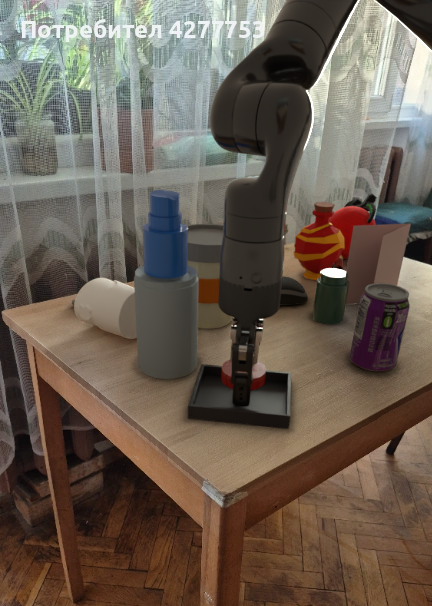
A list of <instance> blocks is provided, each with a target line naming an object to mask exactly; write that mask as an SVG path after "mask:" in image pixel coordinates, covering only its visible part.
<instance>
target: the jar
mask: <svg viewBox="0 0 432 606" xmlns="http://www.w3.org/2000/svg"><path fill="white" fill-rule="evenodd" d="M320 274H321V277H319V278H318V279H317V280H316V286H315V291H314V292H315V293H314V300H313V307H312V315H311V318H312V319H313V320H314V321H315V322H317V323H321V324H323V325H324V324H325V325H338V324H341V323H342V322H343V321H344V318H345V313H346V306H347V304H346V302H347V296H348V290H349V284H350V282H349V281H348V280H347V278H348V273H347V272H346V270H344V269H343V270H340V269H335V267H333V268H332V267H331V268H329V269H324V270H322V271H321V272H320Z"/></svg>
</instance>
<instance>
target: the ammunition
mask: <svg viewBox="0 0 432 606" xmlns="http://www.w3.org/2000/svg"><path fill="white" fill-rule="evenodd" d="M346 262H347V263H348V258H347V259H346ZM347 263H346V264H347ZM334 269H340V270H343V271H344V259H343V257H342V255H340V257H339V258H338V259H337V261H336V262H335V263H334Z"/></svg>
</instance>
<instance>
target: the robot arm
mask: <svg viewBox="0 0 432 606" xmlns="http://www.w3.org/2000/svg"><path fill="white" fill-rule="evenodd" d="M359 2H360V0H286V1H285V2H284V3H283V5H282V7H281V9H280V10H279V12H278V13H277V16H276V18H275V19H274V22H273V24H272V25H271V27H270V30H268V33H267V35H266V37H265V38H264V40H262V42H260V43H259V44H258V45H256V46H255V47H254V48H253V49H252V50H251V51H250V52H249V53H248V54H247V55H246V56H245V57H244V58H243V59H242V60H241V61H240V62H239V63H238V64H237V65H236V66H235V67H234V68H233V69H232V70H231V71H230V72H229V73H228V74H227V75H226V76H225V78H224V79H223V81H221V83H220V84H219V86H218V88H217V90H216V92H215V94H214V96H213V99H212V102H211V106H210V111H209V128H210V132H211V136H212V138H213V140H214V141H215V143H216V144H217V145H218V146H219V147H220V148H221V149H223V150H224V151H228V152H230V153H235V154H243V155H251V156H258V157H265V161H264V165H263V167H262V170H261V172H260V173H259V175H250V176H249V175H248V176H242V177H238V178H235V179H233V180H231V181H229V182H228V183H227V185H226V187H225V190H224V198H223V222H222V223H223V224H222V225H223V238H222V244H221V250H220V271H219V300H218V305H219V308H220V309H221V311H222V312H224V313H225V314H227V315H229V316H232V324H231V326H230V331H229V339H230V340H231V344H230V355H229V356H230V357H229V360H230V361H231V362H232V374H231V378H230V381H231V384H232V385H233V404H234V405H236V406H248V405H249V403H250V392H251V383H253V376H252V375H253V366H254V365H255V364H257V362H258V361H259V352H260V351H259V350H260V345H261V341H262V339H263V332H264V323H265V319H268V318H271V317H273V316H274V315H277V313H278V312H279V310H280V307H281V305H280V296H281V286H282V276H284V265H285V233H286V232H285V231H286V221H287V213H288V212H287V211H288V202H289V198H290V194H291V192H292V191H291V190H292V188H293V183H294V180H295V178H296V174H297V171H298V168H299V166H300V162H301V159H302V157H303V155H304V152H305V150H306V148H307V145H308V142H309V139H310V136H311V133H312V129H313V125H314V115H315V114H314V106H313V101H312V98H311V95H310V94H309V92H308V91H310V90H312V89H313V87H315V86H316V85H317V84H318V82H319V80H320V79H321V76H322V75H323V72H324V71H325V69H326V67H327V65H328V63H329V61H330V60H331V57H332V55H333V53H334V51H335V49H336V47H337V45H338V44H339V41H340V39H341V37H342V35H343V33H344V32H345V29H346V28H347V25H348V23H349V21H350V19H351V17H352V15H353V13H354V11H355V9H356V7H357V5H358V3H359ZM374 2H376V3H377V4H378V5H379V6H381V7H382V8H383V9H385V10H386V12H388V13H389V14H391V15H392V16H393V17H394V18H395V19H397V20H398V21H399V23H401V24H402V25H403V26H404V27H405V28H406V29H407V30H409V31H410V33H412V34H413V36H415V38H417V39H418V40H419V41H420V42H421V43H422V44H423V45H424V46H425V47H426V48H427V49H428V50H429V51H430V52H432V0H374ZM237 371H242V372H237ZM243 372H247V373H243Z"/></svg>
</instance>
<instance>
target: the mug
mask: <svg viewBox="0 0 432 606" xmlns="http://www.w3.org/2000/svg"><path fill="white" fill-rule="evenodd" d="M74 300H75V302H74V306H73V311H74V314H75V316H76V317H77V319H78V320H80V321H81V322H84V323H86V324H89V325H93V326H96V327H97V328H99V329H100V330H102V331H104V332H108V333H110V334H113V335H116V336H120V337H122V338H125V339H128V340H133V339H137V331H136V311H135V290H134V286H131V285H128V284H126V283H123V282H121V281H119V280H116V279H114V280H112V279H109V278H106V277H96V278H94V279H91V280H89V281H88V282H86V283H85V284H84V285H83V286H82V287H81V288H80V289H79V291H78V292H77V294H76V295H75V299H74Z"/></svg>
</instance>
